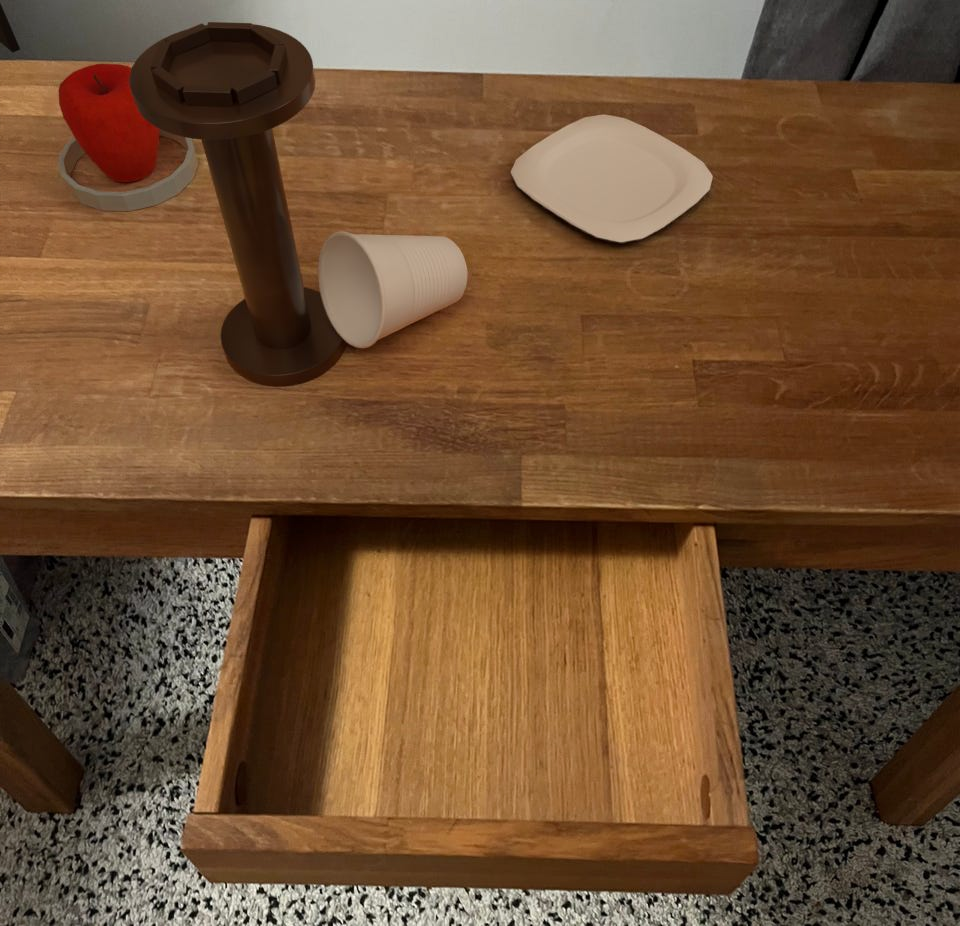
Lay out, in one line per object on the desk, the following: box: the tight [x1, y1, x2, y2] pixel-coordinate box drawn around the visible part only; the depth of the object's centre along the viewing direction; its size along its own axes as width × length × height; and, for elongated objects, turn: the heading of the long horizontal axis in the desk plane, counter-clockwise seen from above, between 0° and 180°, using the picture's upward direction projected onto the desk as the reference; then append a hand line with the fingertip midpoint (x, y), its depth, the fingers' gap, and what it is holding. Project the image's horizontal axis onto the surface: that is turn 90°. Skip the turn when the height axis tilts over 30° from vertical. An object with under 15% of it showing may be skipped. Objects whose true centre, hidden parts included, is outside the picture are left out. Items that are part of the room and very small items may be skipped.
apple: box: [57, 63, 160, 183], centre depth 88 cm, size 9×9×11 cm
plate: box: [510, 114, 714, 245], centre depth 92 cm, size 18×18×2 cm
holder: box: [129, 21, 347, 387], centre depth 68 cm, size 12×12×27 cm
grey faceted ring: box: [57, 129, 199, 212], centre depth 92 cm, size 14×14×2 cm
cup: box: [317, 230, 469, 349], centre depth 77 cm, size 10×10×11 cm
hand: (79, 17), depth 80 cm, fingers open, 13 cm apart
